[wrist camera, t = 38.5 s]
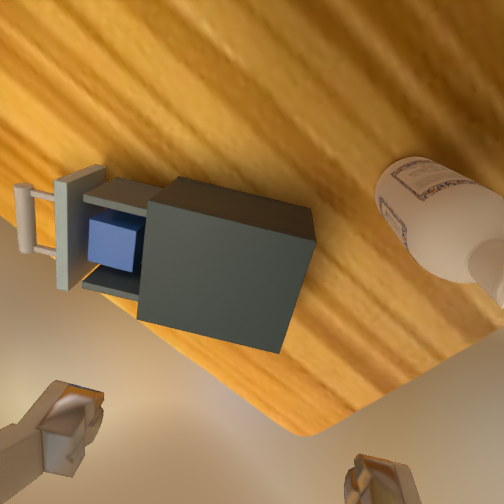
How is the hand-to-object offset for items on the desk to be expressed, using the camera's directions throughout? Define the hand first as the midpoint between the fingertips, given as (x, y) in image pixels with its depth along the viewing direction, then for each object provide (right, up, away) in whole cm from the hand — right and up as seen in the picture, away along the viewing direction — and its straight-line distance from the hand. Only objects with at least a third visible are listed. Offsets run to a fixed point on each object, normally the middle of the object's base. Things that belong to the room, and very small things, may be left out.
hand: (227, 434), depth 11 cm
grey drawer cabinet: (-1, +7, +29) cm, 30 cm away
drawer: (-13, +9, +28) cm, 33 cm away
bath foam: (+17, +12, +25) cm, 32 cm away
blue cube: (-12, +8, +27) cm, 31 cm away
